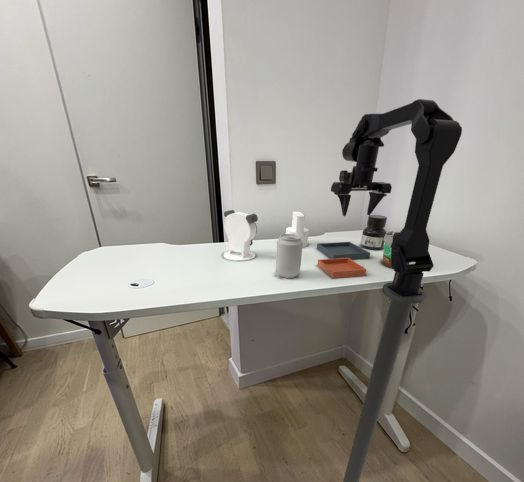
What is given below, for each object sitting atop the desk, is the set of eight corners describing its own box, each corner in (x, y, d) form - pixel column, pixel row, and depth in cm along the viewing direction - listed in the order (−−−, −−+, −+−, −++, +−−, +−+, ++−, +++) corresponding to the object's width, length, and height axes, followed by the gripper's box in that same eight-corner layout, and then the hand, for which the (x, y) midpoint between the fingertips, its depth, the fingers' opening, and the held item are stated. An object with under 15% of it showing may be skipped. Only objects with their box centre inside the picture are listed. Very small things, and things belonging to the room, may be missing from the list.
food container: (370, 259, 103) (376, 231, 98) (385, 258, 105) (391, 230, 100) (394, 272, 93) (402, 241, 88) (410, 270, 94) (418, 240, 90)
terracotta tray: (365, 275, 90) (366, 269, 89) (332, 278, 87) (333, 272, 86) (347, 263, 99) (348, 257, 98) (317, 265, 97) (317, 259, 96)
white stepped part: (283, 241, 121) (285, 211, 116) (304, 240, 122) (307, 211, 117) (287, 247, 114) (289, 216, 108) (309, 247, 114) (312, 216, 109)
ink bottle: (355, 246, 117) (360, 216, 111) (364, 242, 123) (370, 213, 117) (378, 252, 111) (385, 220, 106) (387, 247, 117) (394, 216, 111)
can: (279, 280, 85) (282, 239, 79) (272, 270, 91) (273, 233, 86) (303, 278, 87) (307, 238, 81) (294, 269, 93) (297, 231, 88)
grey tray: (369, 258, 105) (370, 252, 104) (333, 260, 101) (334, 255, 100) (349, 246, 117) (350, 241, 116) (316, 248, 113) (317, 243, 113)
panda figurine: (263, 254, 105) (264, 212, 98) (244, 263, 97) (244, 217, 90) (236, 248, 111) (236, 208, 104) (217, 256, 102) (214, 212, 95)
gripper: (376, 162, 97) (366, 209, 105) (326, 161, 93) (319, 211, 100) (398, 164, 88) (386, 216, 96) (344, 163, 83) (335, 218, 91)
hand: (356, 215), depth 96 cm, fingers open, 9 cm apart
